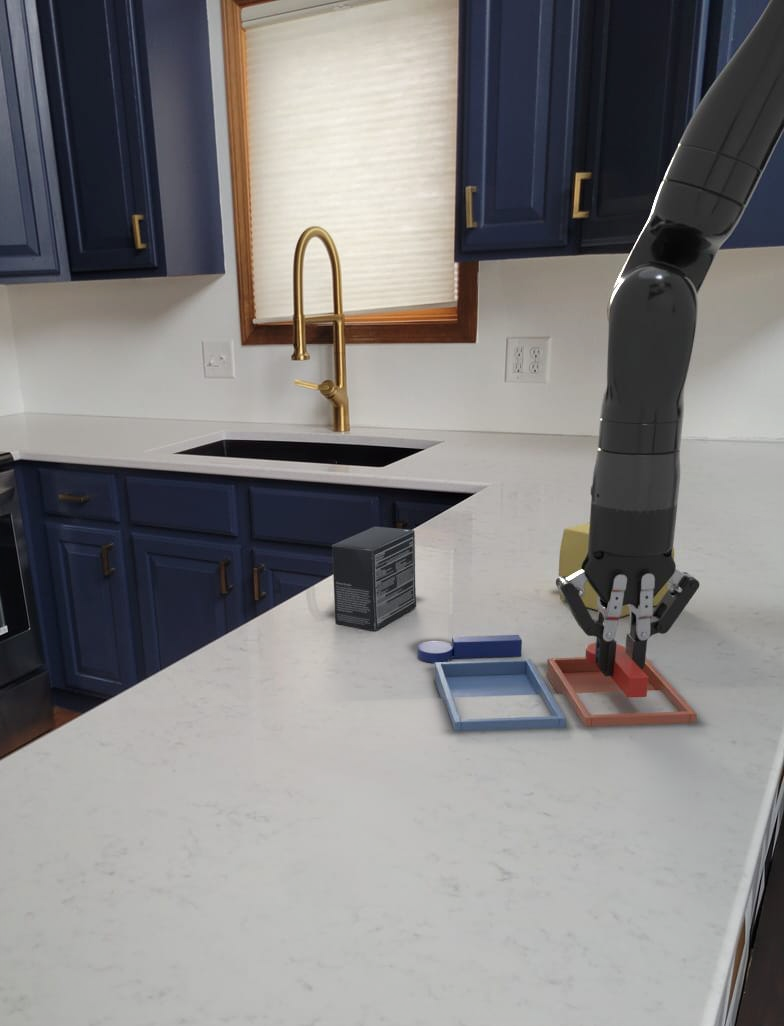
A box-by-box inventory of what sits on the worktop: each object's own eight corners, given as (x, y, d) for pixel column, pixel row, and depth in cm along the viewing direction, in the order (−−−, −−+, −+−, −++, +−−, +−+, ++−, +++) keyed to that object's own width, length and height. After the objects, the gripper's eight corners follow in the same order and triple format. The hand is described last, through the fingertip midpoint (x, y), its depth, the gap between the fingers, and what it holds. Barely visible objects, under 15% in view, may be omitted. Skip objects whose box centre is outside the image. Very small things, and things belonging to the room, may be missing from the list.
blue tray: (529, 676, 102) (530, 658, 102) (564, 737, 89) (565, 718, 88) (434, 679, 103) (434, 662, 102) (454, 741, 89) (454, 722, 88)
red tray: (642, 672, 102) (643, 654, 102) (694, 733, 88) (697, 713, 88) (546, 675, 102) (547, 658, 102) (584, 737, 89) (585, 717, 88)
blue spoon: (516, 647, 111) (516, 631, 110) (523, 660, 107) (524, 643, 106) (415, 650, 111) (415, 634, 110) (419, 663, 107) (419, 647, 106)
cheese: (673, 602, 123) (680, 526, 120) (618, 620, 117) (624, 541, 114) (607, 584, 131) (612, 512, 128) (553, 600, 126) (557, 526, 122)
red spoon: (658, 696, 89) (660, 676, 88) (615, 698, 89) (617, 678, 88) (619, 652, 99) (620, 634, 99) (580, 653, 99) (581, 635, 99)
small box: (375, 600, 129) (374, 524, 125) (418, 607, 125) (418, 529, 121) (331, 623, 121) (329, 542, 117) (375, 632, 117) (374, 549, 113)
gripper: (569, 509, 84) (558, 690, 90) (726, 504, 84) (704, 685, 90) (548, 492, 91) (539, 661, 97) (693, 487, 91) (675, 656, 97)
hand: (619, 672), depth 94 cm, fingers closed on red spoon, 2 cm apart
